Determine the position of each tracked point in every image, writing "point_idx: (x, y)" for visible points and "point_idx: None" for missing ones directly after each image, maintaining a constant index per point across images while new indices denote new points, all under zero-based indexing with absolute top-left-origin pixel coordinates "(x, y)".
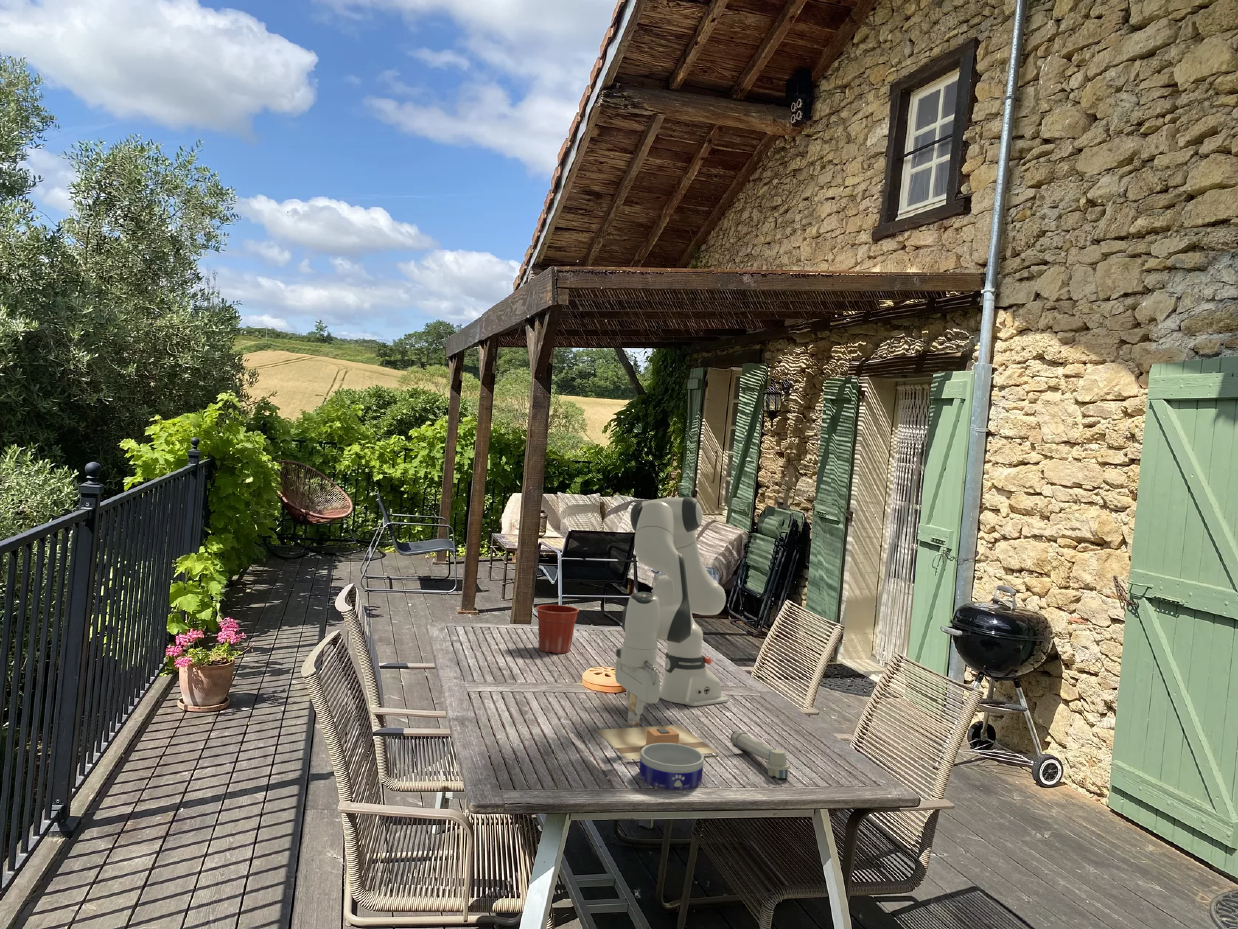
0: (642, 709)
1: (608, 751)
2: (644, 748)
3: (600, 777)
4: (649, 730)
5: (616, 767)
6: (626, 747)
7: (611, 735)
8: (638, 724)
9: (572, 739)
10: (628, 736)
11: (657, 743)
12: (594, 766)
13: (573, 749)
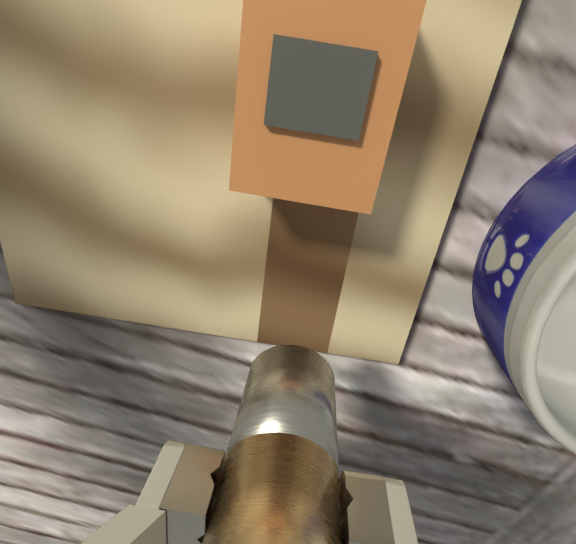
0: (411, 523)
1: (237, 341)
2: (552, 419)
3: (449, 474)
4: (262, 191)
5: (400, 396)
6: (265, 293)
7: (94, 273)
8: (330, 372)
9: (87, 390)
10: (115, 198)
11: (545, 317)
12: (357, 447)
13: (188, 430)
